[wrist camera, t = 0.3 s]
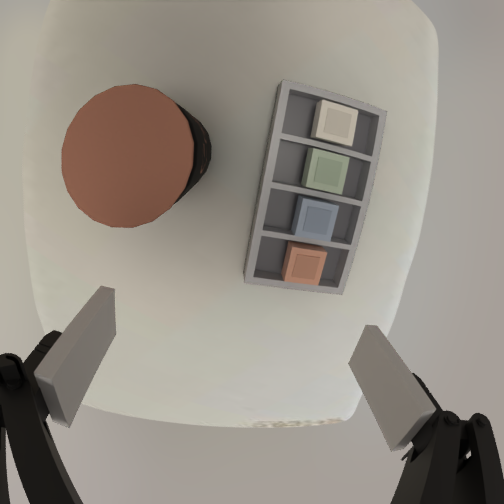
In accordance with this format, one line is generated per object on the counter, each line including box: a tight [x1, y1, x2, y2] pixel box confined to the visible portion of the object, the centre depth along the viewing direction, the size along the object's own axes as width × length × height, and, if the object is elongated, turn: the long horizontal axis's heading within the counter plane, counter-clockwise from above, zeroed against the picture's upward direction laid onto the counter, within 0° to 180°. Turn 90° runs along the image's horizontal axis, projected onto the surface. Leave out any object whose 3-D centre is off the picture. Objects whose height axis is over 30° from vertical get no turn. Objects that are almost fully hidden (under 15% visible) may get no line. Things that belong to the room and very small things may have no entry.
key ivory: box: [311, 100, 358, 146], centre depth 31 cm, size 5×5×2 cm
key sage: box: [301, 148, 350, 195], centre depth 33 cm, size 5×5×3 cm
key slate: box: [291, 195, 339, 242], centre depth 35 cm, size 5×5×2 cm
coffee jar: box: [62, 84, 211, 228], centre depth 27 cm, size 11×11×18 cm
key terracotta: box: [281, 241, 327, 286], centre depth 37 cm, size 5×5×3 cm
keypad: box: [243, 80, 387, 295], centre depth 36 cm, size 26×14×3 cm, turn 170°
